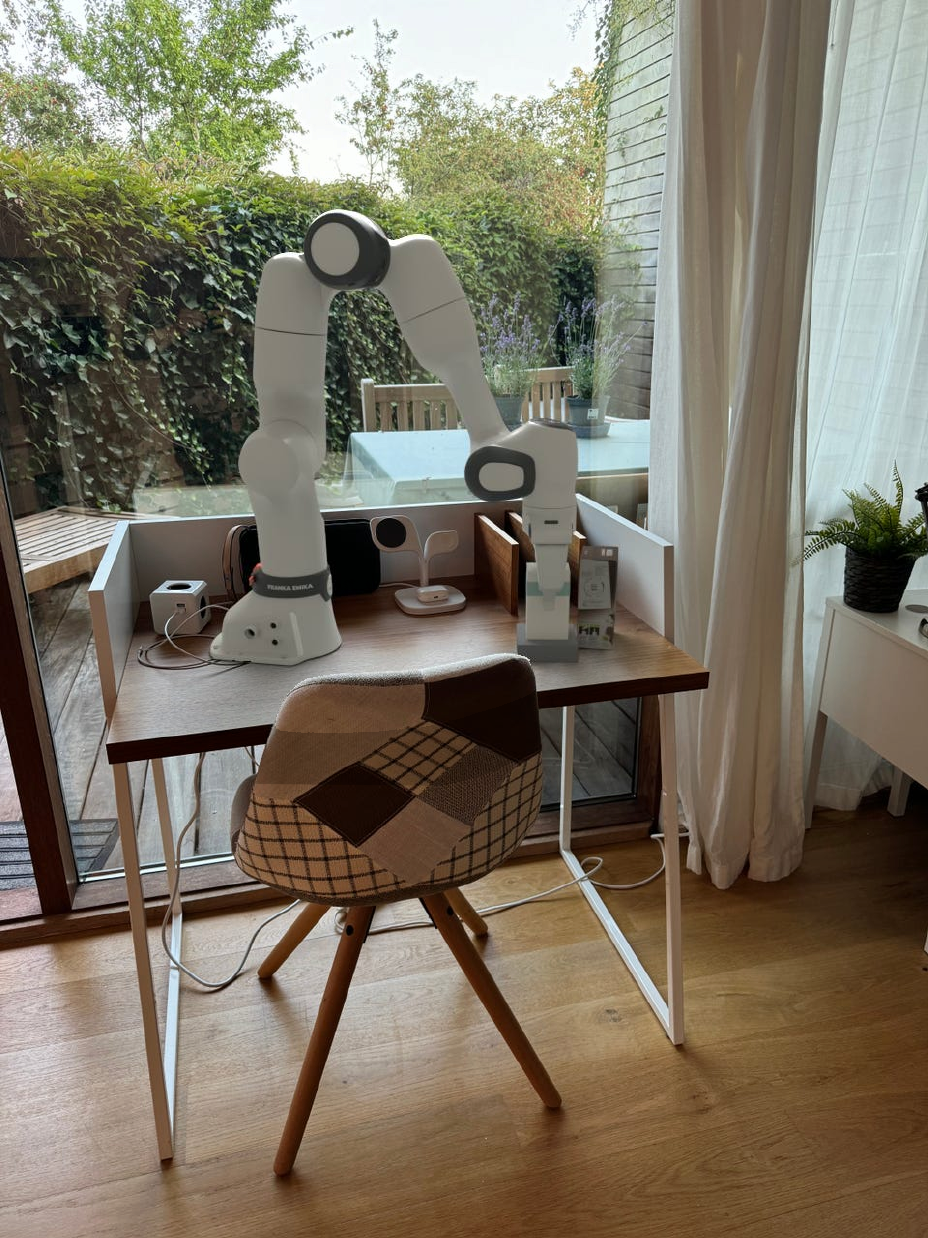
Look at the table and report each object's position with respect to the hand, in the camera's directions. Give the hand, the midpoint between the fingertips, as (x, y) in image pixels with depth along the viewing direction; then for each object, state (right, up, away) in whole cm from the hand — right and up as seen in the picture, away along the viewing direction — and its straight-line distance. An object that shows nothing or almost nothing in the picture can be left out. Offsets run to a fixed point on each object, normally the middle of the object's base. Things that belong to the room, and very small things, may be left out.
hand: (547, 600), depth 148 cm
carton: (0, -6, +2) cm, 6 cm away
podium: (0, -9, +3) cm, 9 cm away
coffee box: (+9, -7, +8) cm, 14 cm away
